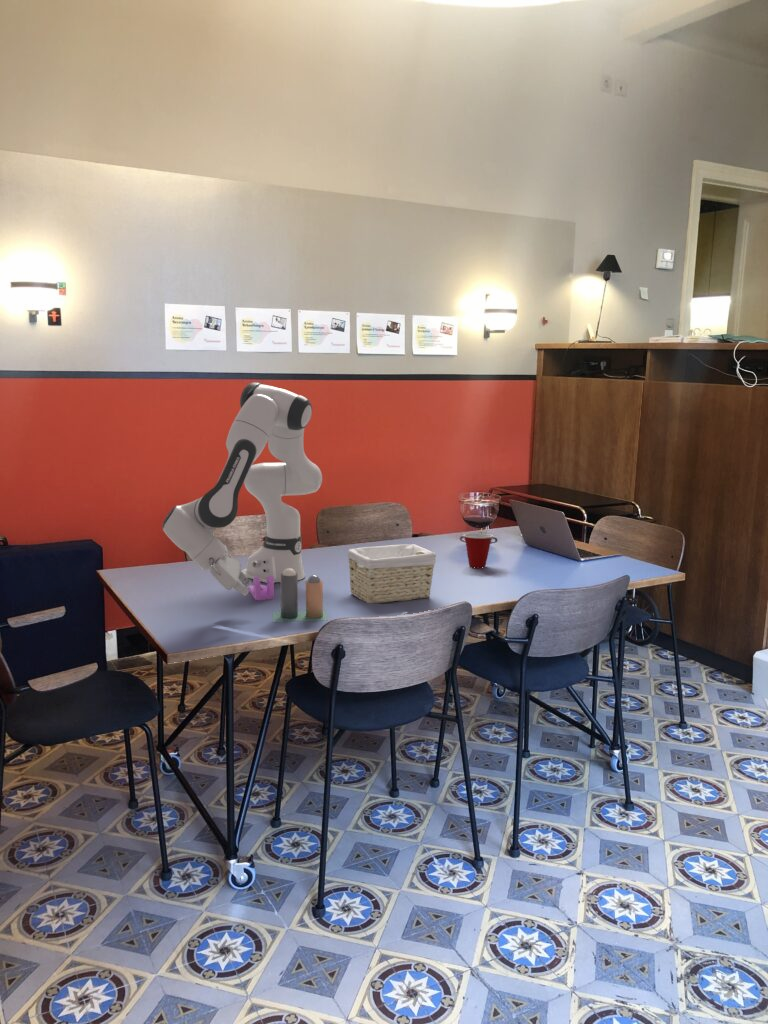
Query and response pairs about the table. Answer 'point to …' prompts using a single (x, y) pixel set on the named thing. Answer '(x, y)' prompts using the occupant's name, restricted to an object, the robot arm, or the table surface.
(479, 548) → the plastic cup
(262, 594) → the bracket
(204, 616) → the table surface
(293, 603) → the charcoal tube
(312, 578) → the orange cylinder
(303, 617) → the green card
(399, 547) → the storage basket
